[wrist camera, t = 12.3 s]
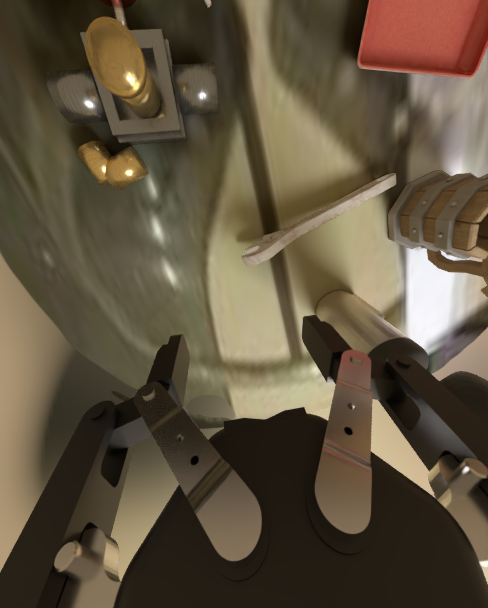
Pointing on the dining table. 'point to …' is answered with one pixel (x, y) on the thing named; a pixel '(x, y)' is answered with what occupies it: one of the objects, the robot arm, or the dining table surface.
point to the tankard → (445, 220)
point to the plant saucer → (425, 37)
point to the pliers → (207, 3)
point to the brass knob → (121, 65)
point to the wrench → (314, 221)
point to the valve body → (123, 121)
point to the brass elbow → (112, 164)
